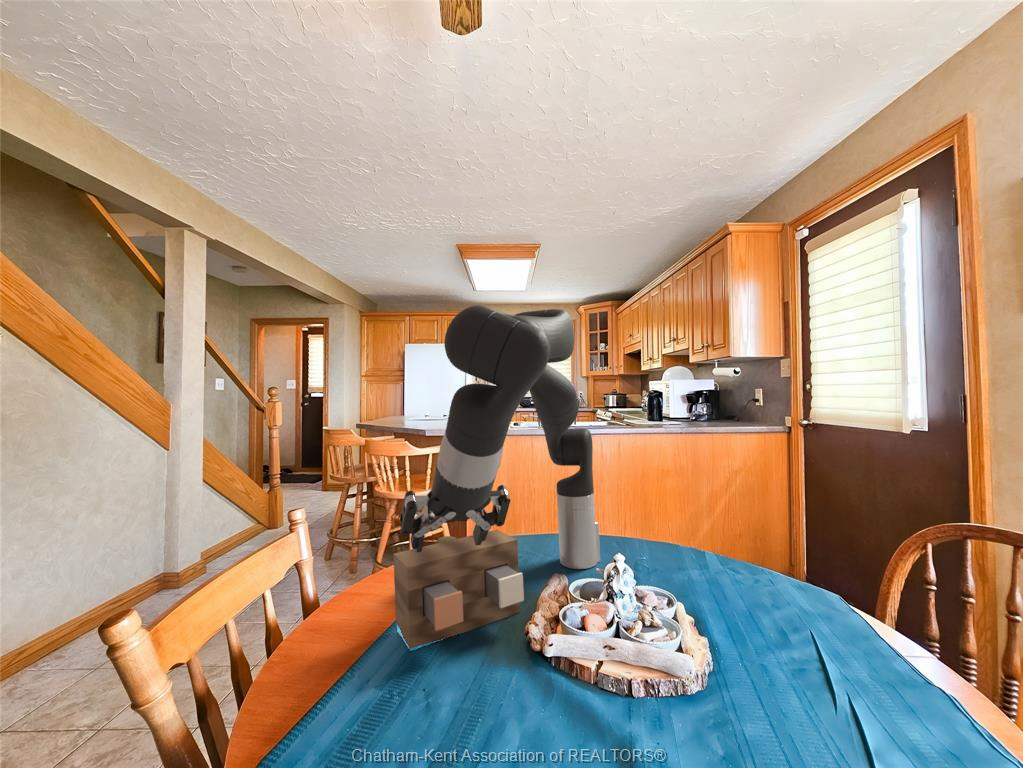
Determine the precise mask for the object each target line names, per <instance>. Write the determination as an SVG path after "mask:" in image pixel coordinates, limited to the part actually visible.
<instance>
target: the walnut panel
mask: <svg viewBox="0 0 1023 768" xmlns="http://www.w3.org/2000/svg"><path fill="white" fill-rule="evenodd" d="M503 564H505V565H506V566H508V567H510V568H511V569H513V570H515V571H516V572H518V573H520V572H519V570H520V569H519V546H518V539H517V538H515V537H513V536H511V535H509V534H507V533H505V532H503V531H501V530H499V529H494V530H489V531H488V534H487V536H486V539H485V540H484V541H482V543H481V545H475V542H474V538H473V534H472V535H469V536H463V537H460V538H456V539H455V540H450V541H446V542H442V543H437V544H435V543H434V544H430V545H425V546H423V547H422V552H416V549H412V548H411V549H408V550H402V551H398V552H395V553H393V572H394V573H393V576H394V578H393V580H394V581H393V582H394V583H393V584H394V605H395V606H394V607H395V610H394V611H395V612H394V613H395V624H396V623H397V624H398V626H399V628H400V630H401V633H402V635H403V638H404V639H405V641H406V643H407V644H408V646H409V648H410V649H411V648H414V647H417V646H420V645H424V644H427V643H430V642H434V641H437V640H441V639H444V638H448V637H451V636H453V637H455V636H454V635H456V636H458V635H457V634H459V635H461V633H462V634H464V633H467V632H470V631H472V630H475V629H478V628H481V627H484V626H485V625H486V626H487V625H490V624H492V623H495V622H498V621H500V620H503V619H505V618H508V617H511V616H514V615H516V614H519V613H521V602H518V603H515V604H512V605H509V606H507V607H504V608H500V607H499V604H498V603H496V602H495V601H494V600H492V599H491V598H490V597H489V596H487V595H486V594H485V576H484V570H485V569H489V568H492V567H496V566H500V565H503ZM443 581H447V582H449V583H450V584H451V585H452V586H453V587H454V588H455V589H457V590H458V591H462V598H463V622H460V623H457V624H454V625H451V626H449V627H446V628H443V629H440V630H437V631H436V630H435V626H434V625H433V624H432V622H431V621H430V620H429V619H428V618H427V617H426V615H425V614H424V613H423V594H422V587H425V586H429V585H432V584H436V583H439V582H443ZM451 638H452V637H451ZM448 639H449V638H448Z"/></svg>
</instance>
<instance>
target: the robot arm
mask: <svg viewBox="0 0 1023 768" xmlns="http://www.w3.org/2000/svg"><path fill="white" fill-rule="evenodd" d="M574 331H575V330H574V325H573V320H572V318H571V315H569V313H568V312H567V311H566V310H563V309H559V308H549V309H539V310H531V311H530V310H529V311H522V312H518V313H516V314H514V315H513V314H508V313H505V312H502V311H500V310H496V309H494V308H490V307H487V306H484V305H471V306H468V307H466V308H464V309H463V310H461V311H459V312H458V313H457V314H456V315H455V316H454V317H453V318H452V320H451V321H450V323H449V325H448V327H447V328H446V332H445V336H444V350H445V355H446V357H447V359H448V361H449V362H450V363H451V365H452V366H453V367H454V368H455V369H457V370H459V371H461V372H462V373H465V374H467V375H470V376H472V377H475V378H477V379H480V380H482V381H485V382H487V383H489V384H486V383H468V384H465V385H463V386H461V387H460V388H458V389H457V390H456V391H455V393H454V395H453V396H452V399H451V402H450V406H449V407H450V408H449V412H448V418H447V423H446V428H445V431H444V435H443V436H442V439H441V442H440V446H439V450H438V451H439V452H438V455H437V461H436V465H435V470H434V476H433V481H432V485H431V490H430V491H429V492H428V493H427V494H426V495H416V492H415V491H414V490H408V491H406V492H405V494H404V497H403V498H404V499H403V502H402V507H401V510H400V513H399V524H400V536H402V537H406V536H407V537H408V536H409V535H410V546H411V549H416V552H422V547H424V546H423V545H424V542H425V534H428V532H429V531H436V529H438V528H439V527H440V526H442V525H443V524H449V523H454V522H467V521H468V520H471V521H472V522H473V523H474V527H473V532H472V535H473V538H474V542H475V545H481V543H482V541H484V540H485V539H486V536H487V534H488V532H489V531H491V529H492V526H496V527H502V526H504V524H505V522H506V519H507V516H508V510H509V508H510V505H511V498H510V495H509V492H508V489H507V487H506V485H504V484H500V485H499V486H497V488H496V490H493V487H494V483H495V481H496V477H497V475H498V471H499V469H500V467H501V462H502V456H503V452H504V451H503V449H504V445H505V442H506V437H507V434H508V431H509V428H510V425H511V422H512V419H513V417H514V414H515V412H516V411H517V408H518V407H519V406H520V404H521V402H522V401H523V399H524V398H525V396H526V395H527V394H528V393H530V396H531V399H532V403H533V406H534V409H535V412H536V415H537V417H538V419H539V423H540V424H541V427H542V430H543V433H544V437H545V441H546V446H547V449H548V450H547V451H548V454H549V457H550V459H551V462H552V463H553V464H555V465H557V466H559V467H560V466H561V467H564V466H570V467H573V466H574V467H575V466H579V470H577V472H575V473H574V474H572V475H570V476H568V477H564V478H562V479H560V480H558V481H557V482H556V488H555V489H556V504H557V522H558V524H557V525H558V526H557V527H558V543H559V544H558V547H559V563H560V564H561V566H563V567H566V568H569V569H573V570H584V569H591V568H593V567H595V566H596V565H597V564H598V563H599V562H601V549H600V548H601V546H600V529H599V527H600V526H599V523H598V522H597V521H596V514H595V513H596V511H595V493H594V492H595V490H594V477H593V476H594V475H593V474H594V473H593V454H594V453H593V452H594V451H593V450H594V449H593V436H592V434H591V431H590V430H589V429H588V428H570V427H572V425H573V424H574V422H575V420H576V419H577V417H578V415H579V409H580V407H579V401H578V396H577V391H576V388H575V386H574V384H573V383H572V382H571V380H570V379H569V378H567V377H566V375H564V374H563V373H561V372H560V371H558V370H557V369H555V368H554V367H553V366H550V365H549V364H551V363H552V364H554V363H560V362H564V361H566V360H568V359H569V358H570V357H571V356H572V354H573V351H574V349H575V333H574ZM491 502H493V503H492V504H493V505H492V508H491V511H490V512H488V511H487V510H486V509H485V508H486V507H488V506H489V505H490V503H491ZM421 510H422V511H421ZM420 511H421V512H420ZM423 522H424V523H423Z"/></svg>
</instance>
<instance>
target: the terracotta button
mask: <svg viewBox="0 0 1023 768" xmlns="http://www.w3.org/2000/svg"><path fill="white" fill-rule="evenodd" d="M422 594H423V613H424V614H425V615H426V617H427V618H428V619H429V620H430V621H431V622H432V624H433V625H434V626H435V630H436V631H437V630H440V629H443V628H446V627H449V626H451V625H454V624H457V623H460V622H463V598H462V591H458V590H457V589H455V588H454V587H453V586H452V585H451V584H450V583H449V582H447V581H443V582H439V583H436V584H432V585H429V586H425V587H422Z"/></svg>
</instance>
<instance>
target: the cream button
mask: <svg viewBox="0 0 1023 768" xmlns="http://www.w3.org/2000/svg"><path fill="white" fill-rule="evenodd" d="M523 575H524V574H523V572H519V573H518V572H516V571H515V570H513V569H511V568H510V567H508V566H506V565H505V564H503V565H500V566H496V567H492V568H489V569H485V570H484V576H485V594H486V595H487V596H489V597H490V598H491V599H492V600H494V601H495V602H496V603H498V604H499V607H500V608H504V607H507V606H509V605H512V604H515V603H518V602H520V603H522V602H524V600H525V595H524V576H523Z"/></svg>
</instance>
